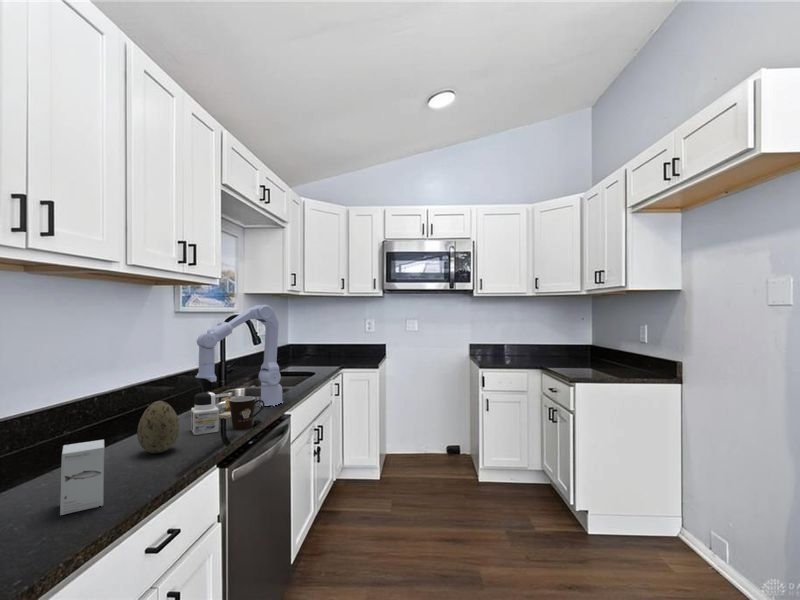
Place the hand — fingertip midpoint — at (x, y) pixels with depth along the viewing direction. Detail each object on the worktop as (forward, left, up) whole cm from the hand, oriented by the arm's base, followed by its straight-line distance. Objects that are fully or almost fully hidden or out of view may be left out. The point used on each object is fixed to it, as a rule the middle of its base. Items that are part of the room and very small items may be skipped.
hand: (206, 398), depth 166 cm
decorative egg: (+39, +18, -7) cm, 44 cm away
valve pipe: (-6, +6, -6) cm, 10 cm away
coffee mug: (+9, +26, -7) cm, 28 cm away
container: (+17, +15, -7) cm, 24 cm away
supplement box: (+70, +30, -7) cm, 77 cm away
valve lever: (-2, +3, 0) cm, 4 cm away
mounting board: (-6, +5, -7) cm, 10 cm away
